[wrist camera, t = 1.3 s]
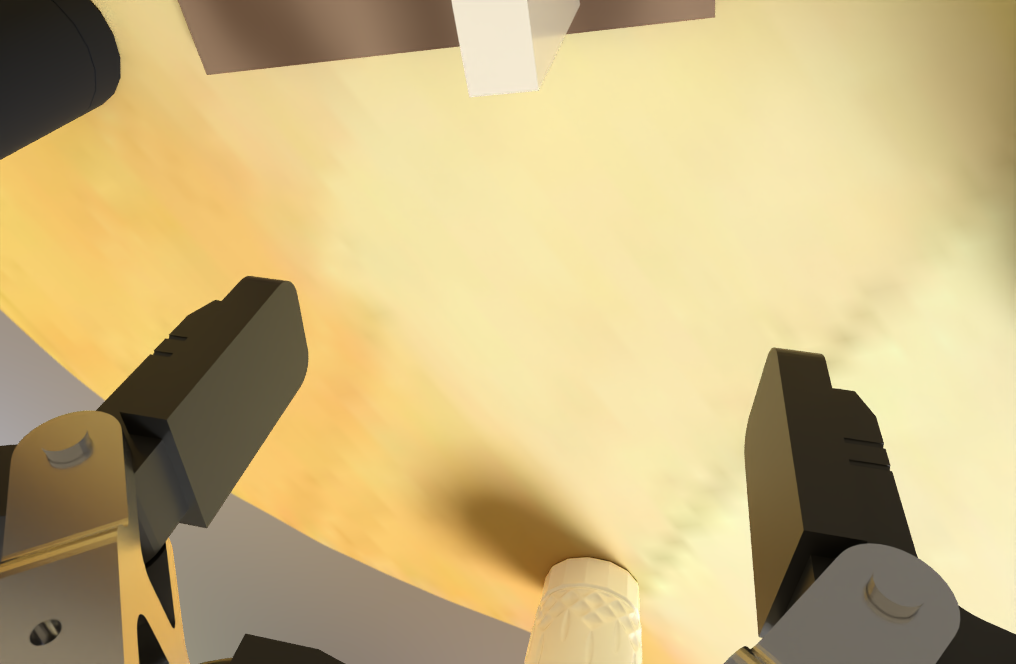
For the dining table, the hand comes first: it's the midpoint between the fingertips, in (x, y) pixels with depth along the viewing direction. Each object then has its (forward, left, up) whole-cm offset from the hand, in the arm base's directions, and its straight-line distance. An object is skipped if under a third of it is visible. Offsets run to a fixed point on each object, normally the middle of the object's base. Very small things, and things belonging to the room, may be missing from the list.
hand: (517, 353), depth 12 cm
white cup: (+4, +38, -22) cm, 44 cm away
